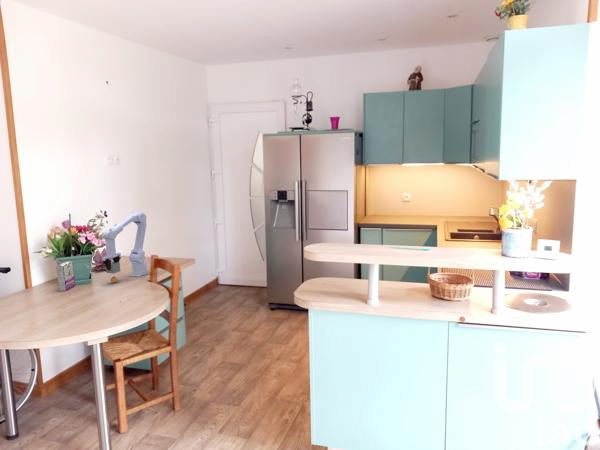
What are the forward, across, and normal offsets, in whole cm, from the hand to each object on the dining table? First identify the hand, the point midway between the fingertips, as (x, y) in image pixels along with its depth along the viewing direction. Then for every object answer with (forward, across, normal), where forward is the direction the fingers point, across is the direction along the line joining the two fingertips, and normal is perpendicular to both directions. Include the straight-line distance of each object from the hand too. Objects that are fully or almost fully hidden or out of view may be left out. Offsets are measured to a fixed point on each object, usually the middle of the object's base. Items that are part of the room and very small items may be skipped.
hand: (112, 268), depth 293 cm
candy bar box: (+9, -20, +19) cm, 29 cm away
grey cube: (+2, 0, 0) cm, 2 cm away
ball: (+7, 0, 0) cm, 7 cm away
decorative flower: (+9, +25, +35) cm, 44 cm away
